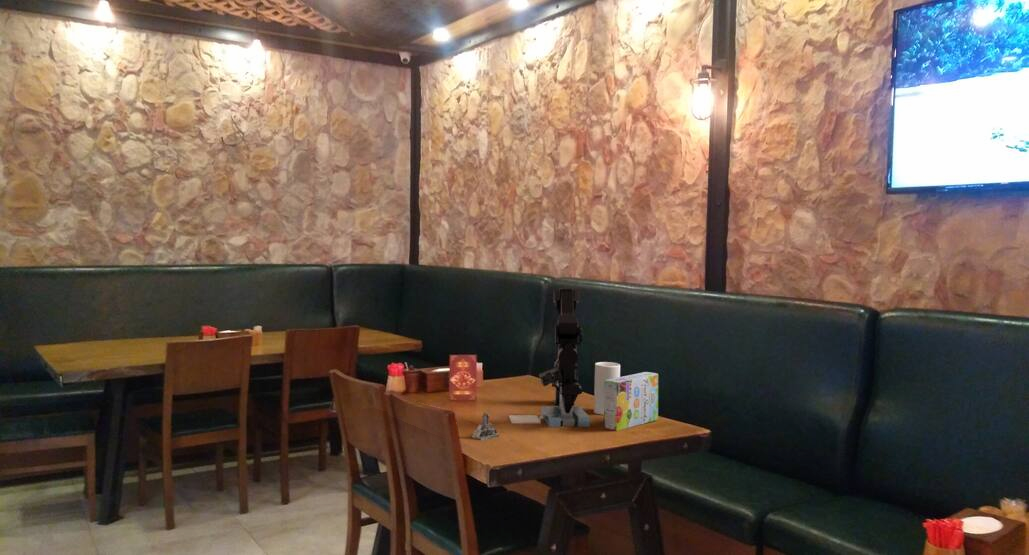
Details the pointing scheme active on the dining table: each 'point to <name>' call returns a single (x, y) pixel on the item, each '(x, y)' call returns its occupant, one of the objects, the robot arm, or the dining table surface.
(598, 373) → the cup
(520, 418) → the tile
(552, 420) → the frame
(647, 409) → the snack box
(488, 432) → the house of cards
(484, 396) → the dining table surface
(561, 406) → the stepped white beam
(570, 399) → the robot arm
